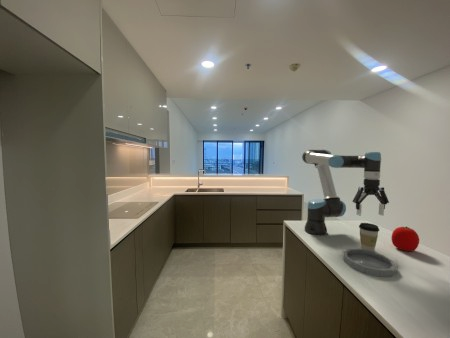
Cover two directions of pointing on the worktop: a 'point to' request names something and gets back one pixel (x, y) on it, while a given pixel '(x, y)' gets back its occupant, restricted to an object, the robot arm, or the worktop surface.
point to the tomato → (405, 238)
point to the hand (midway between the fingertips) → (369, 215)
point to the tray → (369, 262)
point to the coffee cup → (368, 236)
